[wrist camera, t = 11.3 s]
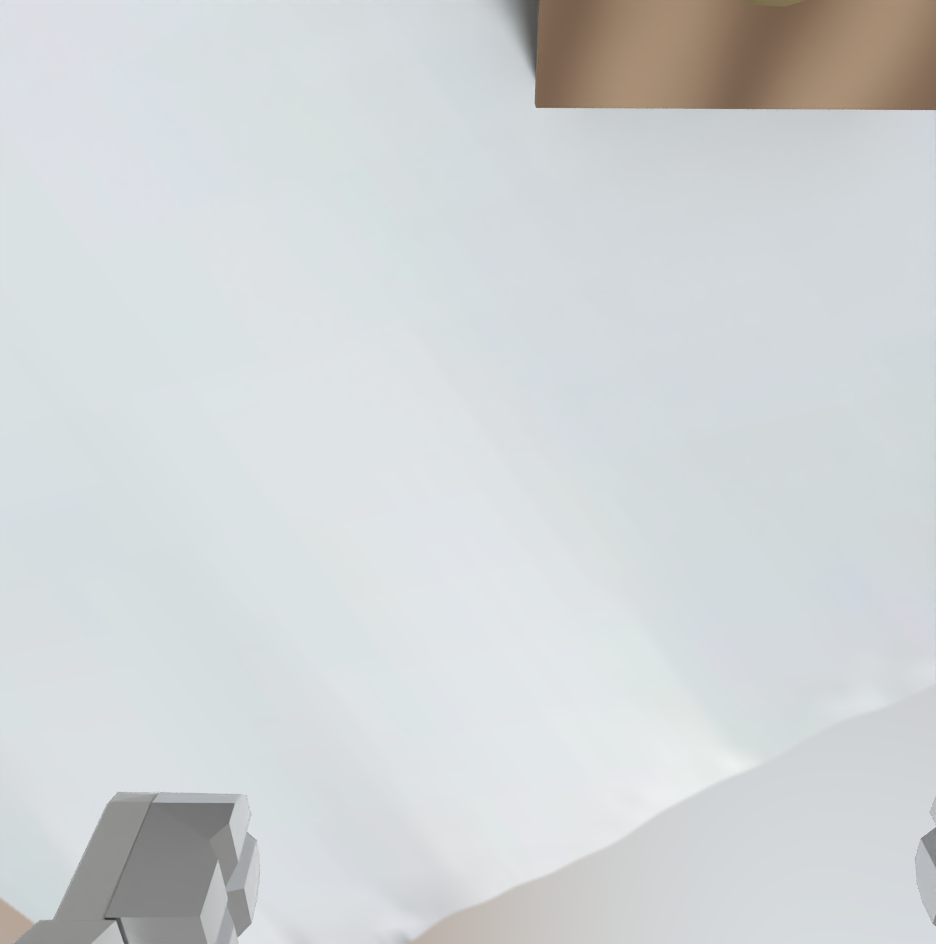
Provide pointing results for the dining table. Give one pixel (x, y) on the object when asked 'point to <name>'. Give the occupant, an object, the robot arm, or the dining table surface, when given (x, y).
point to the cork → (773, 2)
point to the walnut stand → (736, 54)
